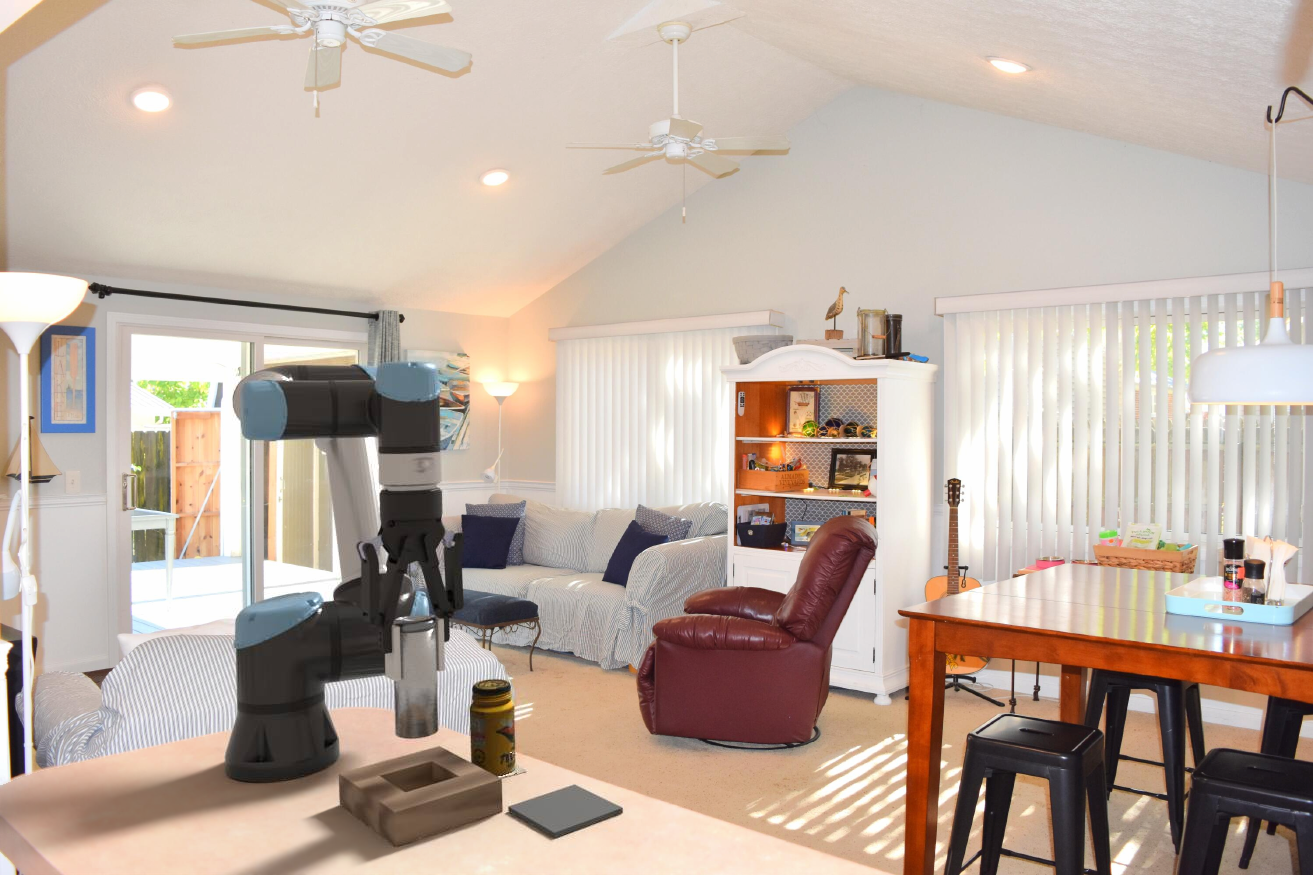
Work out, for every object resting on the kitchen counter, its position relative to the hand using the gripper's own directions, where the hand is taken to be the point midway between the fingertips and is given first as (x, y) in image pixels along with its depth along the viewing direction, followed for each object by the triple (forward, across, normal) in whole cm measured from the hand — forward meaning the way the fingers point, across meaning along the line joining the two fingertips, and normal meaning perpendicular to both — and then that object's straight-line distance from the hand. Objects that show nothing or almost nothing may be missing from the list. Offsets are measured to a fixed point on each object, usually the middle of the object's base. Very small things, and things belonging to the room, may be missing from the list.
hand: (415, 672), depth 118 cm
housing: (+17, 0, -1) cm, 17 cm away
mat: (+17, +12, -14) cm, 25 cm away
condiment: (+17, +12, +4) cm, 22 cm away
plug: (+7, 0, 0) cm, 7 cm away
